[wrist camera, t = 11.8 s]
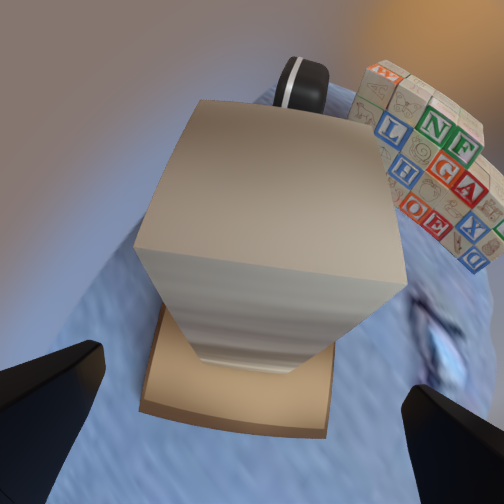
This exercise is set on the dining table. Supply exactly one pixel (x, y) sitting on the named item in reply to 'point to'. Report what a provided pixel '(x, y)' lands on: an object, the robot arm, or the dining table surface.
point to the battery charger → (302, 86)
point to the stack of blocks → (434, 162)
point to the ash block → (271, 234)
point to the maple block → (237, 385)
